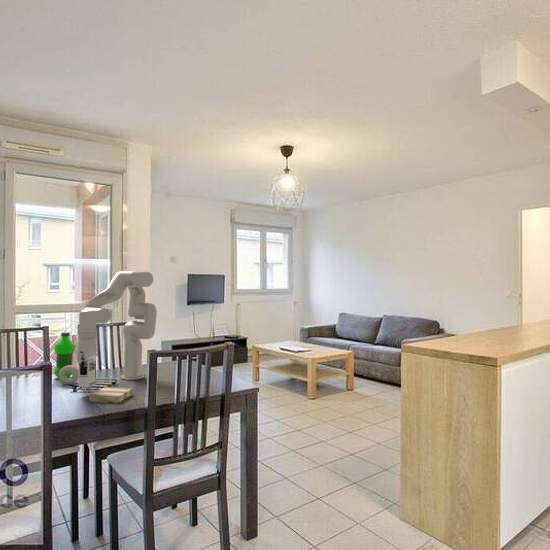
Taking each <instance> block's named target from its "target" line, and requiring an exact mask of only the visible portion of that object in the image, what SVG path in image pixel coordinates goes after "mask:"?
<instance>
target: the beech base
mask: <svg viewBox="0 0 550 550" xmlns="http://www.w3.org/2000/svg"><path fill="white" fill-rule="evenodd" d="M133 394H134V393H133V388H131V387H130V388H129V387H127V388H126V387H110V386H105V387H102V388H100V389H98V390H96V391H94V392H92V393H90V394H89V399H88V400H89V402H92V403H95V402H96V403H108V402H113V403H112V404H120V403H122V402H123V401H125V400H127V399H128V398H130V397H131V396H133ZM129 396H130V397H129ZM127 397H128V398H127ZM124 399H125V400H124ZM122 400H123V401H122ZM119 402H120V403H119Z"/></svg>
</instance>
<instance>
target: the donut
mask: <svg viewBox="0 0 550 550" xmlns="http://www.w3.org/2000/svg"><path fill="white" fill-rule="evenodd" d="M67 372H71V373H72V375H71V376H70V377H69V378H67V376H66V373H67ZM58 379H59V380H60V382H61V383H62V384H64V385H74V384H75V383H76V382H77V381H78V367H76V366H74V365H72V366H71V365H68V366H65V367H63V368H62V369H61V370H60V372H59V378H58Z"/></svg>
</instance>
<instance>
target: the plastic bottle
mask: <svg viewBox="0 0 550 550" xmlns="http://www.w3.org/2000/svg"><path fill="white" fill-rule="evenodd" d="M70 335H71V334H70V331H67V332H66V331H63V332H60V336H61V339H60V340H59V341H58V342H56V344H54V346H53V347H54V348H53V349H54V350H53V351H54V353H56V365H55V368H54V372H53V373H54V375H55V377H57V378H58V379H59V372H60V370H61V369H62V368H63V367H65V366H68V365H71V366H73V356H74V355H73V354H74V353H75V350H76V344H75V343H74V341H72V340H71V339H69V337H70ZM66 376H67V378H71V377H72V373H71V372H67V373H66Z"/></svg>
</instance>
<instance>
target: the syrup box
mask: <svg viewBox="0 0 550 550" xmlns="http://www.w3.org/2000/svg"><path fill="white" fill-rule="evenodd" d="M82 360H84V359H82ZM84 362H85V361H83V363H84ZM77 363H78V362H77ZM86 367H87V375H80V367H79V363H78V366H77V369H78V380H77V381H78V387H81V388H90V387H92V386H95V385H97V356H96V355H93V356H90V357H88V360H87V364H86Z"/></svg>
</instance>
